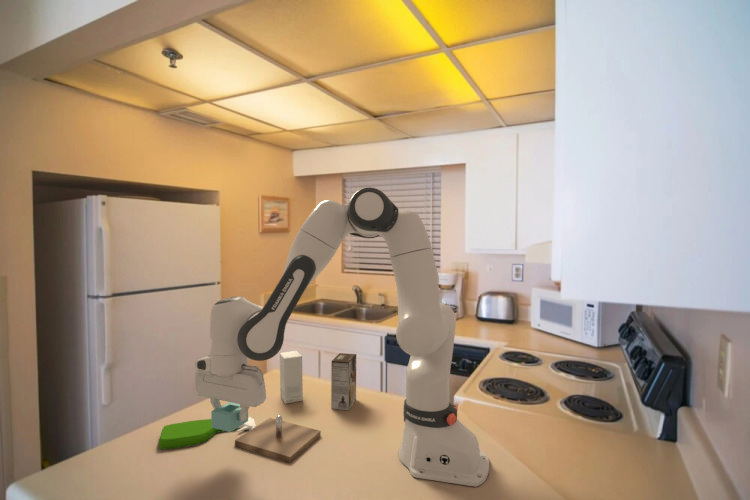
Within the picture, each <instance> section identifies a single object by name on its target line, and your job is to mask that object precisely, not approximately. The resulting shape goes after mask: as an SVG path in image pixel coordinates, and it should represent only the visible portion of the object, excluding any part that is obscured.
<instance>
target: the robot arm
mask: <svg viewBox="0 0 750 500" xmlns="http://www.w3.org/2000/svg"><path fill="white" fill-rule="evenodd" d="M349 235H352V236H355V237H359V238H363V239H374V238H377V237H381V238H383V240H384V242H385V243H386V246H387V249H388V253H389V258H390V261H391V266H392V271H393V276H394V280H395V286H396V293H397V314H398V316H397V317H398V320H397V321H398V322H397V327H396V331H395V335H396V336H395V337H396V341H397V344H398V346H399V347H400V349H401V350H402V351H403V352H404V353H406V354H407V355H409V356H410V357H409V361H408V364H407V366H406V367H407V368H406V371H405V372H406V373H405V374H406V376H405V387H406V388H405V399H404V401H403V414H402V415H403V422H404V428H403V434H402V435H403V436H402V439H401V444H400V448H399V451H398V458H399V460H400V462H401V463H402V464H403V466H405V467H406V468H407V469H408V470H409V473H410V474H411V476H412V477H414V478H418V479H422V480H430V481H437V482H442V483H449V484H454V485H455V484H456V485H461V486H468V487H478V486H481V485H482V484H484V482H486V480H487V478H488V475H489V473H490V461H489V457H488V455H487V454H486V453H485V452H484V451H482V450H480V444H479V440H478V438H477V436H476V434H475V433H474V432H473V431H471V430H470V429H469V428H468V427H467V426H465V425H464V423H462V422H461V421H460V420H459V419H458V407H459V406H458V404H456V405H455V407H454V405H453V404H452V403H451V402H450V385H451V384H450V382H451V379H450V378H451V366H452V360H453V353H454V344H455V335H456V334H455V333H456V325H457V317H456V314H455V312H454V310H453V309H452V308H451V307H450V306H449V305H447V304H445V303H442V302H440V293H439V292H440V289H439V287H440V286H439V283H440V276H439V271H438V267H437V265H436V259H435V256H434V252H433V248H432V244H431V241H430V238H429V234H428V231H427V229H426V227H425V224H424V222H423V220H422V218H421V217H420V215H419V214H418V213H416V212H413V211H410V210H409V211H408V210H407V211H406V210H404V211H399V208H398V206H396V204H395V203H394V202H393V201H391V199H390V198H389V197H388V196H387V195H386V194H385V192H383V191H382V190H380V189H378V188H374V187H364V188H361V189H359V190H357V191H356V192H354V193H353V195H352V196H351V197H350V199H349V201H348V203H347V204H341V203H340V202H339V201H335V200H331V199H326V200H322V201H321V202H319V203H318V204H317V206H316V207H315V208H314V209H313V210H312V211H311V213H310V214H309V215H308V216H307V217H306V219H305V220H304V222H303V223H302V225H301V227H300V228H299V229H298V232H297V233H296V235H295V237H294V240H293V241H292V243H291V246H290V248H289V252H288V254H287V257H286V263H285V266H284V269H283V272H282V275H281V277H280V279H279V280H278V283H277V284H276V286H275V288H274V289H273V291H272V292H271V294H270V296H269V297H268V299H267V300H266V302H265V304H264V305H263V306H262V305H259V304H256V303H254V302H251V301H249V300H248V299H247V298H245V297H244V296H241V295H240V296H229V297H226V298H223V299H220V300H219V301H216V302H215V303H214V304H213V306H212V308H211V311H210V318H209V337H210V340H211V347H210V350H209V355H207V356H204V357H202V358H199V359H197V360H195V361H194V368H195V369H196V371H195V373H194V390H195V392H196V394H197V396H199V397H204V398H209V399H210V404H211V405H212V408H213V410H215V409H217V408H219V407H220V406H222V403H221V401H223V402H226V403H228V402H232V403H237V404H240V408H242V409H241V411H240V413H238V414H237V420H238V421H244V420H246V418H247V415H246V412H247V411H248V412H249V409H250V407H251V408H257V407H259V406H261V405H262V404H264V402H265V401H266V399H267V390H266V382H265V378H264V371H262V369H261V368H259V366H257V365H256V366H255V365H250V364H249V359H250V360H252V361H257V362H262V361H267V360H270V359H272V358H274V357H275V356H276V355H277V354H279V353H280V351H281V349H282V347H283V344H284V340H285V332H286V325H287V324H288V321H289V319H290V316H291V315H292V313H293V312H294V310H295V308H296V307H297V304H298V302H299V301H300V300H301V298H302V296H303V294H304V292H305V291H306V290H307V289H308V287H309V286H310V284H311V283H312V282H313V281H314V280H315V279H316V278H317V277H318V275H320V274H321V272H322V271H323V270H325V268H326V267H327V266H328V264H329V263H330V262H331V261H332V259H333V257H334V256H335V254H336V253H337V251H338V249H339V248H340V246H341V244H342V242H343V241H344V240H345V238H346V237H347V236H349Z"/></svg>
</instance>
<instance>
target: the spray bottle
mask: <svg viewBox="0 0 750 500" xmlns="http://www.w3.org/2000/svg"><path fill="white" fill-rule="evenodd" d="M256 426H257V425H256V422H255V419H254V418H252V416H248V421H247V422H246V423H244V424H243V425H241V426H239V427H238V428H236V429H234V430H233V431H236V430H237V431H236V432H237V433H240V432H243V431H245V430H246V431H250V430H252V429H253V428H255V427H256ZM222 432H225V431H224V430H220V429H216V428H212V419H211V418H208V419H207V418H206V419H197V420H189V421H183V422H178V423H177V422H176V423H171V424H166V425H164V426H163V428H162V430H161V432H160V436H159V439H158V442H159V443H158V448H159V450H174V449H179V448H185V447H186V448H187V447H191V446H196V445H200V444H203V443H205V442H207V441H209V440H210V439H211V438H212V437H214V436H215V435H216V434H218V433H222Z"/></svg>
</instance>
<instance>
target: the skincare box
mask: <svg viewBox="0 0 750 500" xmlns="http://www.w3.org/2000/svg"><path fill="white" fill-rule="evenodd" d="M279 381H280V382H279V386H280V391H279V394H280V395H279V396H280V398H281V399H282V401H283V402H284V404H285V405H286V404H292V403H297V402H302V401H303V400H304V396H303V395H304V392H303V391H304V390H303V389H304V388H303V356H302V354H300V352H298V351H297V350H292V351H283V352H279Z"/></svg>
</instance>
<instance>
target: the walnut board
mask: <svg viewBox="0 0 750 500" xmlns="http://www.w3.org/2000/svg"><path fill="white" fill-rule="evenodd" d="M321 431H322V430H319V429H314V428H311V427H307V426H303V425H300V424H296V423H292V422H288V421H283V420H282V436H280V437H277V436H276V418H272V417H269V418H267V419H266V420H264V421H263V422H262V421H261V423H259V424H258V425H256V427H255V428H253V429H252V430H247V432H246V433H244V434H242V435H241V436H239V437H238V438H236V439H235V440H234V446H235V447H238V448H241V449H244V450H248V451H251V452H253V453H257V454H260V455H262V456H266V457H270V458H272V459H273V458H274V459H276V460H280V461H283V462H285V463H286V462H287V463H289V464H290V463H292V462H293V461H294V460H295V459H296V458H297V457H299V456H300V455H301V454H302V453H303V452H304V451H305V450H307V448H308V447H309V448H310V446H311V445H313V444H314V442H315V441H317V440H318V439H319V438H320V437H321V436H322V435H321V434H322V433H321Z"/></svg>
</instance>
